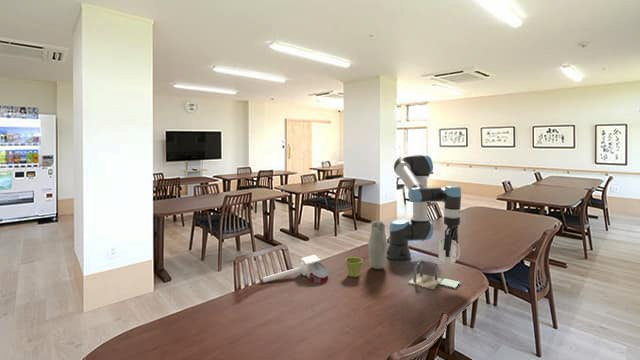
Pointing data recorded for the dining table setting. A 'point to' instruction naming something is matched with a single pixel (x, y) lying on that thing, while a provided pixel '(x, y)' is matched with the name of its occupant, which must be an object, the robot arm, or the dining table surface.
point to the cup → (453, 251)
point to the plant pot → (354, 266)
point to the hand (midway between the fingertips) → (450, 260)
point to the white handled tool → (303, 268)
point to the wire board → (425, 281)
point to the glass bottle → (377, 245)
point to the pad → (449, 283)
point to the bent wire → (422, 269)
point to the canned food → (318, 273)
